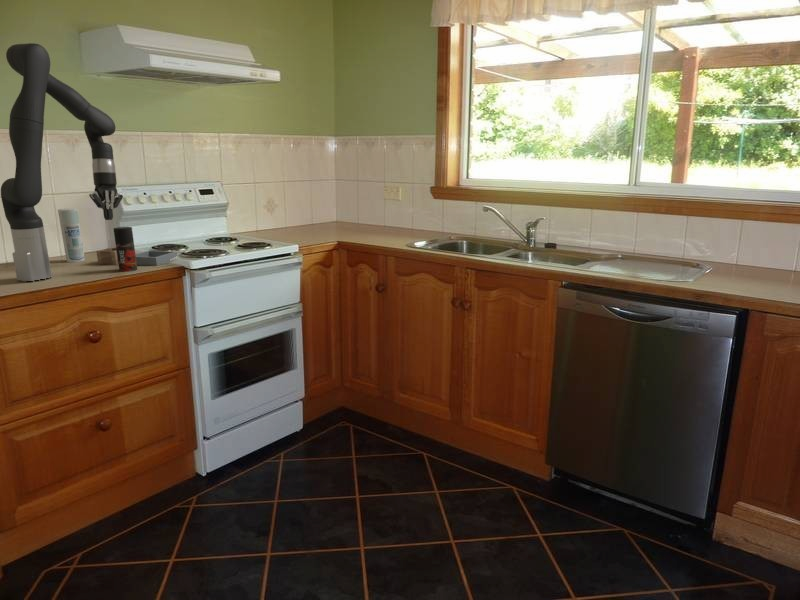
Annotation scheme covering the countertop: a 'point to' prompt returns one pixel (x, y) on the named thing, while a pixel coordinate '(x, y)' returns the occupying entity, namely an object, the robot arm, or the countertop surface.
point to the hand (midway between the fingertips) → (108, 219)
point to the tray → (154, 257)
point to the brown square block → (107, 256)
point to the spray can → (71, 234)
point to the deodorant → (125, 249)
